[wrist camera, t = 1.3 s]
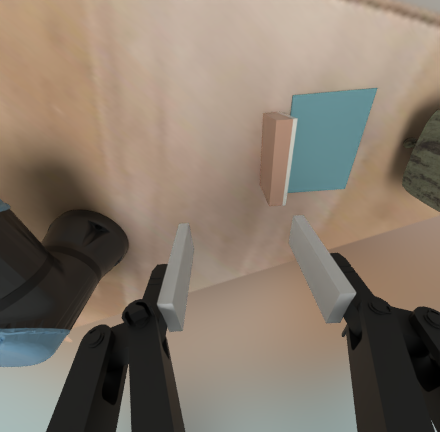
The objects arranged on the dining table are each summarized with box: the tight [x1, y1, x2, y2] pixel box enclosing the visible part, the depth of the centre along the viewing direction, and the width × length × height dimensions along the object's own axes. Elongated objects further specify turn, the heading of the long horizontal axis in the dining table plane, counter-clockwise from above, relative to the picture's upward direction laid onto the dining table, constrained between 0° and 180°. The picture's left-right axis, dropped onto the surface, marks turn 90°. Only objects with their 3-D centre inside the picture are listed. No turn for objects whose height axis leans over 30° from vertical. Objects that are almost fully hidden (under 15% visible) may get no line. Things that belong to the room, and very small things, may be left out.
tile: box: [260, 112, 298, 206], centre depth 29 cm, size 2×12×8 cm, turn 4°
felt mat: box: [287, 88, 377, 193], centre depth 32 cm, size 12×16×1 cm
